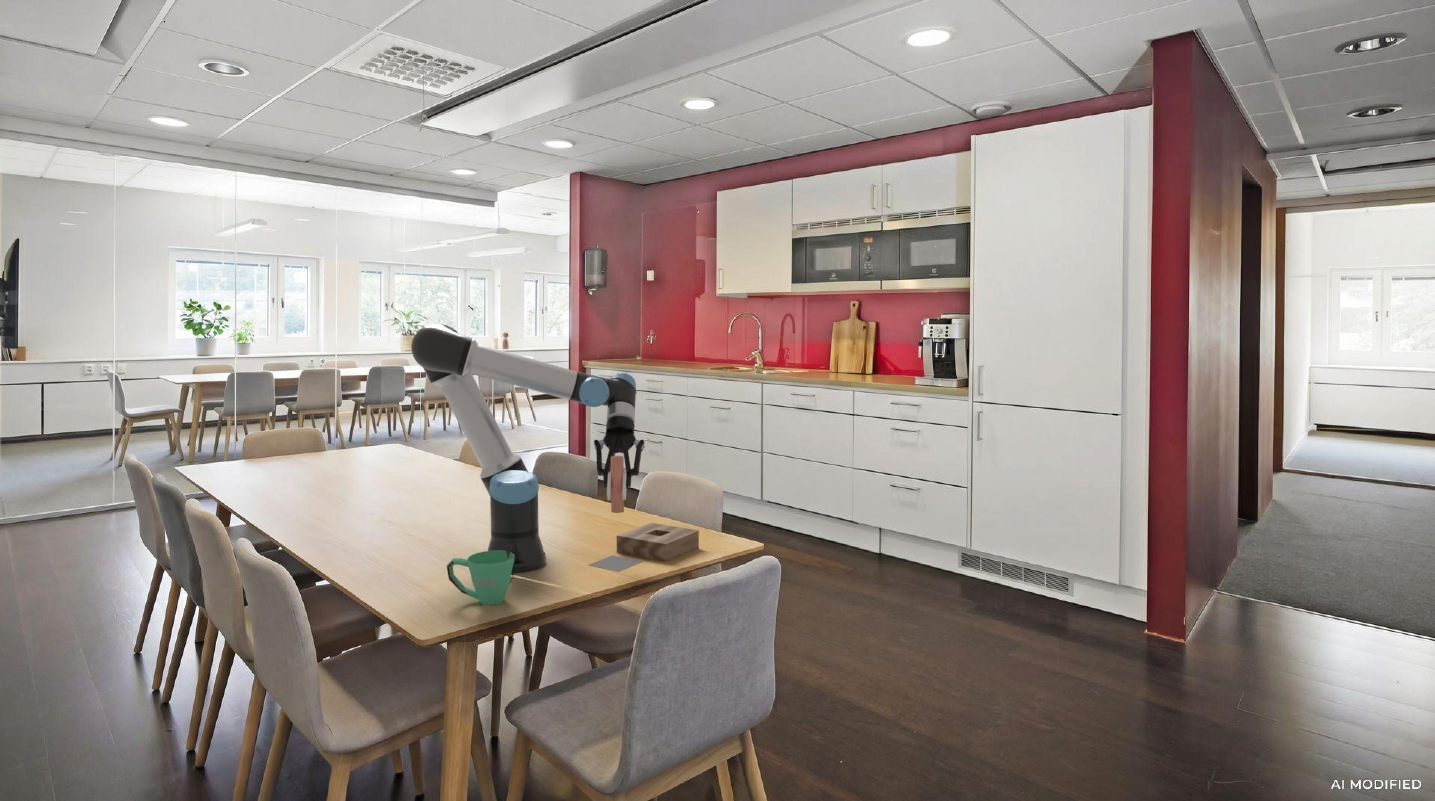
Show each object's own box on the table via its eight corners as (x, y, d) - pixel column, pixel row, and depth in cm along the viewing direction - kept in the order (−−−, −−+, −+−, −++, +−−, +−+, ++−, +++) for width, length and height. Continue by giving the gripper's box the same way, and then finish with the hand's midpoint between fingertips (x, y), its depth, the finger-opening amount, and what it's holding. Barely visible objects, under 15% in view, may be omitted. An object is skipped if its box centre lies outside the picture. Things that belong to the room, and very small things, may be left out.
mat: (587, 566, 188) (587, 564, 188) (612, 556, 197) (612, 555, 197) (619, 573, 183) (619, 571, 183) (643, 563, 192) (643, 561, 192)
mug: (520, 593, 168) (519, 550, 167) (507, 609, 159) (506, 563, 158) (455, 593, 168) (454, 549, 168) (439, 608, 159) (438, 563, 158)
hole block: (616, 553, 200) (616, 535, 199) (651, 539, 214) (651, 522, 213) (665, 563, 192) (665, 544, 191) (698, 548, 205) (698, 530, 205)
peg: (608, 511, 189) (608, 457, 187) (616, 509, 191) (616, 455, 190) (618, 513, 187) (618, 458, 186) (626, 510, 190) (626, 456, 188)
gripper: (651, 431, 203) (649, 504, 188) (591, 431, 202) (584, 505, 187) (650, 414, 198) (648, 488, 182) (588, 414, 197) (582, 489, 182)
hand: (616, 496), depth 185 cm, fingers closed on peg, 3 cm apart
